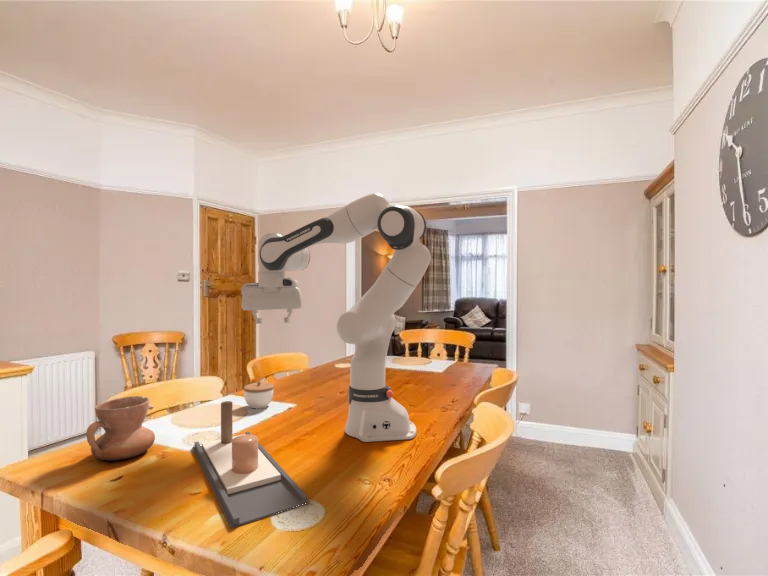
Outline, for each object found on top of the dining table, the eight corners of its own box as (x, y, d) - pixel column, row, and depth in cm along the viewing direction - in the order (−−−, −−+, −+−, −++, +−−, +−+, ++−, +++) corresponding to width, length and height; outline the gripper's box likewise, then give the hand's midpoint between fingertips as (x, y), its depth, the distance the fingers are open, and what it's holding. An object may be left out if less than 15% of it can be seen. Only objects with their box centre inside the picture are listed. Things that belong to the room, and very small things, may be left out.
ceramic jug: (135, 438, 120) (134, 391, 120) (171, 445, 115) (169, 396, 114) (69, 464, 104) (67, 409, 103) (106, 475, 98) (104, 416, 98)
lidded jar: (237, 408, 149) (237, 383, 148) (256, 400, 158) (256, 377, 158) (261, 412, 145) (261, 386, 144) (279, 404, 154) (279, 379, 154)
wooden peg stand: (201, 447, 113) (201, 403, 113) (245, 438, 119) (245, 396, 119) (227, 494, 88) (227, 438, 88) (280, 479, 95) (281, 427, 94)
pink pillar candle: (261, 462, 101) (261, 434, 101) (253, 473, 95) (253, 444, 95) (237, 462, 101) (236, 434, 101) (228, 473, 95) (227, 444, 95)
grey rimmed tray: (192, 448, 113) (192, 442, 113) (250, 436, 122) (250, 431, 122) (231, 528, 77) (231, 520, 77) (309, 503, 86) (309, 495, 86)
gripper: (237, 282, 134) (238, 324, 133) (299, 281, 134) (300, 322, 134) (244, 283, 140) (244, 323, 140) (303, 281, 141) (304, 321, 140)
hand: (272, 323), depth 137 cm, fingers open, 8 cm apart
